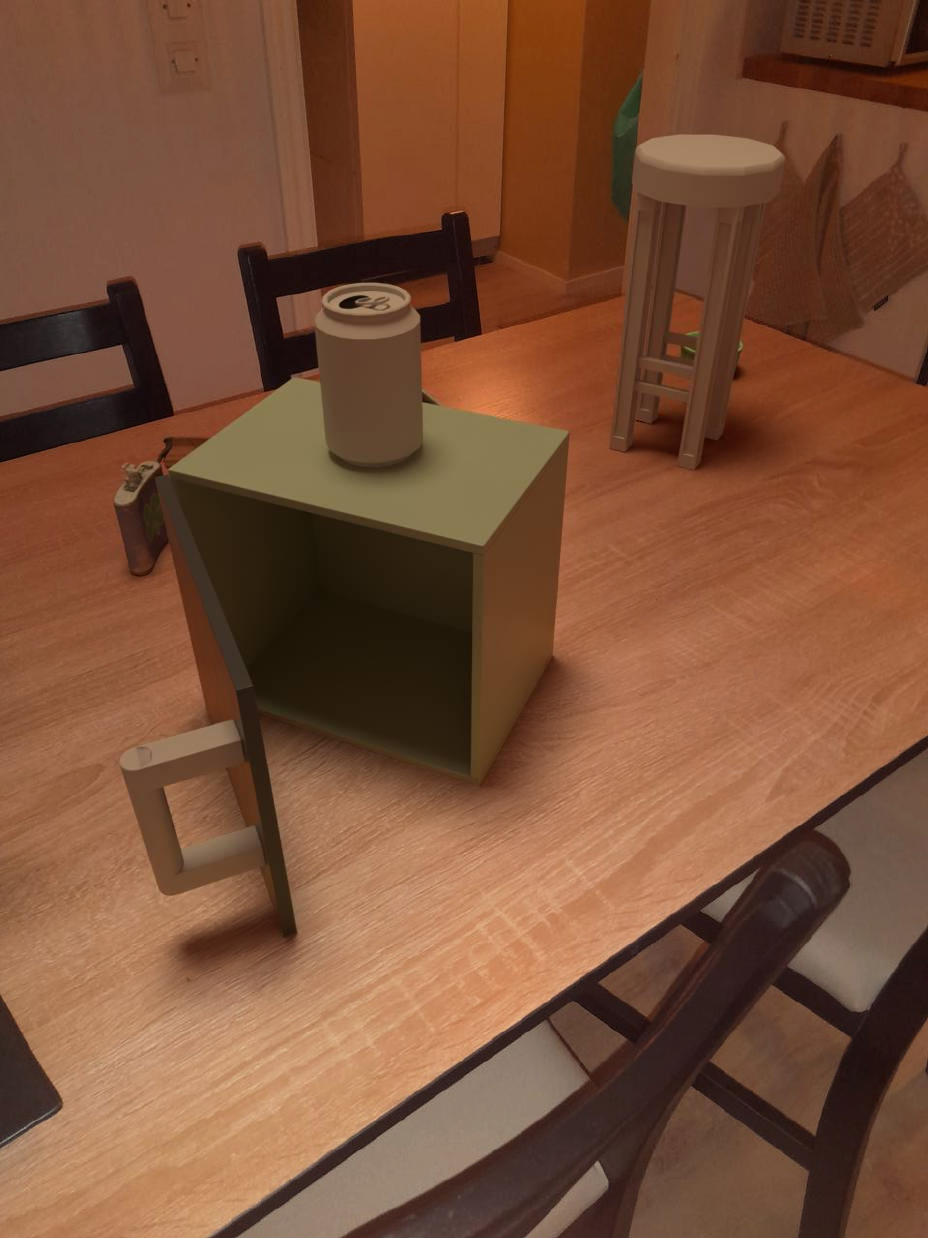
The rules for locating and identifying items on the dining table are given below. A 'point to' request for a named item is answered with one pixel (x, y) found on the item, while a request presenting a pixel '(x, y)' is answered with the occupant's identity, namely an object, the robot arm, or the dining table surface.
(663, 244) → the stool
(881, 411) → the dining table surface
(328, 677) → the olive green cabinet
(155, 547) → the flask
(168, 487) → the cabinet door
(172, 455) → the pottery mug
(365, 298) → the can
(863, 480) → the dining table surface
